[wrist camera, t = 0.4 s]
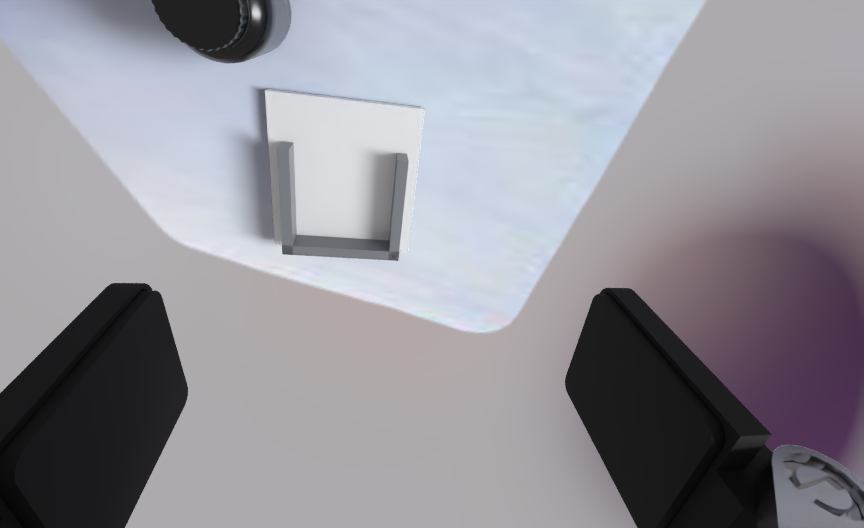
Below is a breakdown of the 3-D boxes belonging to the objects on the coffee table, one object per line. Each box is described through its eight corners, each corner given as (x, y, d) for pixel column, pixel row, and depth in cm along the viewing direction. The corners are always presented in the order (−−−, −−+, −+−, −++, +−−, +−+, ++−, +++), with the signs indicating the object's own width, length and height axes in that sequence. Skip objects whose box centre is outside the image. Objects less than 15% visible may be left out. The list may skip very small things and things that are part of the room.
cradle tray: (267, 88, 36) (257, 94, 33) (423, 107, 39) (428, 114, 36) (276, 239, 44) (269, 255, 41) (407, 247, 46) (409, 263, 43)
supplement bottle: (222, 59, 35) (159, 77, 25) (188, -40, 31) (98, -68, 21) (303, 48, 35) (274, 61, 25) (279, -51, 32) (233, -84, 21)
